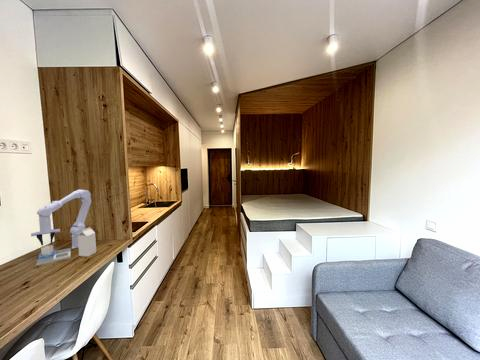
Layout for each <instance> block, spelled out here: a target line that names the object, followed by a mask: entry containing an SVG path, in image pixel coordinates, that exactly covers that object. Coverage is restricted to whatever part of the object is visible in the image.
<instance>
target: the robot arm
mask: <svg viewBox="0 0 480 360" xmlns="http://www.w3.org/2000/svg"><path fill="white" fill-rule="evenodd" d="M91 196H92V194H91V192H90V191H89V190H87V189H76V190H75V191H72V192H71V193H70V194H68V195H66V196H64V197H63V198H61V199H60V200H53V201H51V203H49V204H47V205H44V207H40V208H39V209H38V210H37V212H36V214H37V215H38V223H39V231H36V232H31V234H30V237H36V238H37V240H38V241H39V242H40V246H44V241H43V235H49V237H50V245H53V240H54V237H55V235H56V233H60V232H61V229H60V228H56V229H54V228H53V229H52V222H51V221H52V220H51V215H52V213H53V212H56V211H57V210H59V209H60V208H63V205H64V204H66V203H68V202H70V201H72V200H73V199H79V200H81V202H82V203H81V205H80V208H79V211H78V215H77V218H76V219H75V220H76V221H75V222H74V223H73V225H72V226H71V227H70V228H69V232H70V234H71V250H73V249H79V247H78V235H79V234H80V233H81V232H82V230H84V229H86V225H85V221H86V219H87V216H88V213H89V210H90V206H91V204H92V197H91Z"/></svg>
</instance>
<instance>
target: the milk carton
mask: <svg viewBox="0 0 480 360" xmlns="http://www.w3.org/2000/svg"><path fill="white" fill-rule="evenodd" d="M96 242H97V240H96V232H95V231H94V230H93V229H92V227H91V226H89V227H87V228H86V227H85V229H84V230H82V232H81V233H80V234H79V235H78V257H90V256H92V255H94V254H96V252H97V243H96Z"/></svg>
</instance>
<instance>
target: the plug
mask: <svg viewBox="0 0 480 360" xmlns="http://www.w3.org/2000/svg"><path fill="white" fill-rule="evenodd" d="M54 250H55V249H54V245H53V244H50V245H43V247H42V246H41V248H40V251H41V252H40V253H42V256H45V255H50V254H54Z"/></svg>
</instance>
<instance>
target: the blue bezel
mask: <svg viewBox="0 0 480 360" xmlns="http://www.w3.org/2000/svg"><path fill="white" fill-rule="evenodd" d="M53 250H54V254H50V255H45V256H42V253H41V252H39V254H38V258H39V259H41V258H48V257H51V256H54V255H55V254H56V251H57V249H53Z"/></svg>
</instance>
